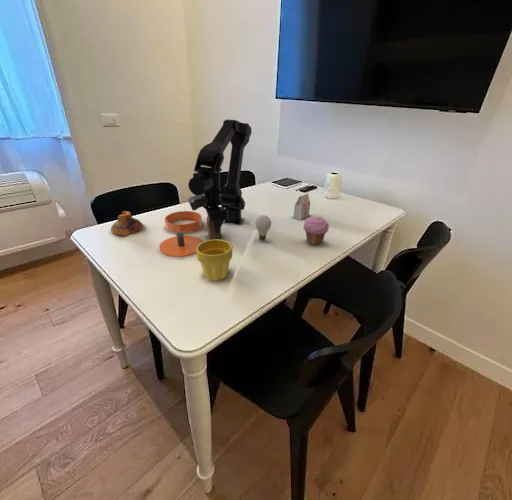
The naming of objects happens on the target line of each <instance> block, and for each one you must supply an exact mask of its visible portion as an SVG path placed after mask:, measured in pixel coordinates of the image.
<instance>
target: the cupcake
mask: <svg viewBox="0 0 512 500" xmlns="http://www.w3.org/2000/svg"><path fill="white" fill-rule="evenodd" d="M302 228H303V230H304V231H305V237H306V241H307V242H308V243H309V244H310V245H312V246H316V245H320V244H322V243H323V242H324V239H325V235H326V234H327V233H328V232H329V228H330V227H329V224H328V221H327V220H326V219H325V218H323V217H321V216H315V215H314V216H310V217H309V216H308V217H306V220H305V221H304V223H303V227H302Z"/></svg>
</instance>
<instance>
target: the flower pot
mask: <svg viewBox="0 0 512 500" xmlns="http://www.w3.org/2000/svg"><path fill="white" fill-rule="evenodd" d="M196 251H197V253H196V258H197V261H198V262H199V263H200V266H201V268H202V271H203V274H204V276H205V278H206V279H208V280H211V281H219V280H222V279H225V278H226V277H227V275H228V271H229V266H230V261H231V260H232V259H233V245H232V244H231V242H229V241H228V240H224V239H213V240H210V239H207V240H204V241H202V242H201V243H200V244H199V245H198V246H197V248H196Z"/></svg>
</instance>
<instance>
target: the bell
mask: <svg viewBox="0 0 512 500" xmlns="http://www.w3.org/2000/svg"><path fill="white" fill-rule="evenodd" d="M121 213H122V214H119V215H118V216H117V221H115V222H114V223H113V224H112V225H111V227H110V231H111V233H112V234H113V235H116V236H120V237H129V236H130V235H134V234H135V235H136V234H138V233H140V232H142V230H143V229H144V224H143V223H142V222H141V221H140V220H139V219H138V218H135V217H133V216H132V212H130V211H129V210H128V211H127V210H124V211H122V212H121Z"/></svg>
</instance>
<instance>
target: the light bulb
mask: <svg viewBox="0 0 512 500" xmlns="http://www.w3.org/2000/svg"><path fill="white" fill-rule="evenodd" d="M254 226H255V228H256V230H257V232H258V233H257V234H258V239H259V241H261V242H265V241H266V240H267V234H268V231H269V230H270V228H271V227H272V220H271V219H270V217H269V216H267V215H265V214H261V215H258V216H257V217H256V219H255V220H254Z"/></svg>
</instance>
